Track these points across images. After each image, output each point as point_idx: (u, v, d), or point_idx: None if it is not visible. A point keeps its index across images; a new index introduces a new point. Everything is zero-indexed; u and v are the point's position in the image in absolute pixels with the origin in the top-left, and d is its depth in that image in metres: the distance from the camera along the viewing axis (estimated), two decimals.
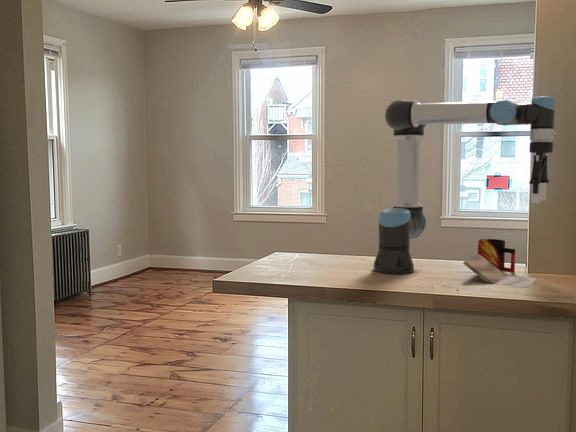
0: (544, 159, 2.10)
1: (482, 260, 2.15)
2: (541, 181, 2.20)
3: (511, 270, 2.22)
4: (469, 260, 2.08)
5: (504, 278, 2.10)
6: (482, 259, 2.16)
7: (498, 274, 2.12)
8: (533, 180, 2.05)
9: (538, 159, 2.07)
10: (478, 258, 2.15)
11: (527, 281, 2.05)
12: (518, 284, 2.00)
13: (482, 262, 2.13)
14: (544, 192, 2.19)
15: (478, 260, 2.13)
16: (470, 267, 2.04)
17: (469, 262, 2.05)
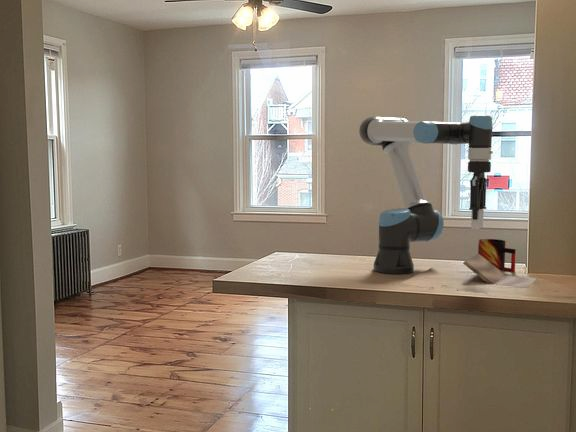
0: (482, 180, 2.06)
1: (482, 260, 2.15)
2: (478, 207, 2.12)
3: (511, 270, 2.22)
4: (469, 260, 2.08)
5: (504, 278, 2.10)
6: (482, 259, 2.16)
7: (498, 274, 2.12)
8: (472, 207, 2.05)
9: (475, 184, 2.04)
10: (478, 258, 2.15)
11: (527, 281, 2.05)
12: (518, 284, 2.00)
13: (482, 262, 2.13)
14: (481, 219, 2.12)
15: (478, 260, 2.13)
16: (470, 267, 2.04)
17: (469, 262, 2.05)
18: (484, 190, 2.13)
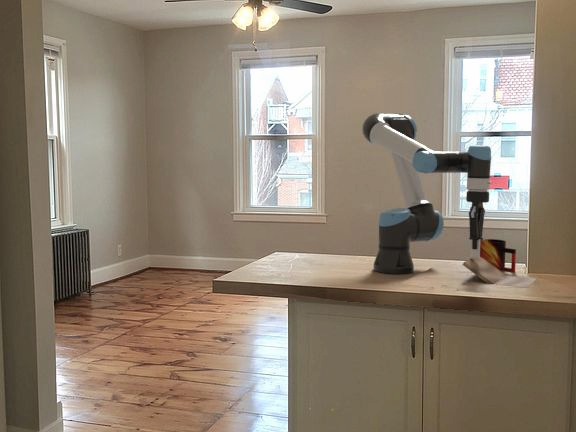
0: (480, 210, 2.08)
1: (481, 261, 2.16)
2: None
3: (512, 270, 2.22)
4: (468, 261, 2.08)
5: (504, 278, 2.10)
6: (481, 260, 2.17)
7: (498, 274, 2.12)
8: (472, 237, 2.08)
9: (474, 216, 2.05)
10: (477, 259, 2.15)
11: (527, 281, 2.05)
12: (518, 284, 2.00)
13: (481, 263, 2.13)
14: None
15: (477, 261, 2.13)
16: (469, 268, 2.04)
17: (468, 263, 2.06)
18: (482, 220, 2.13)
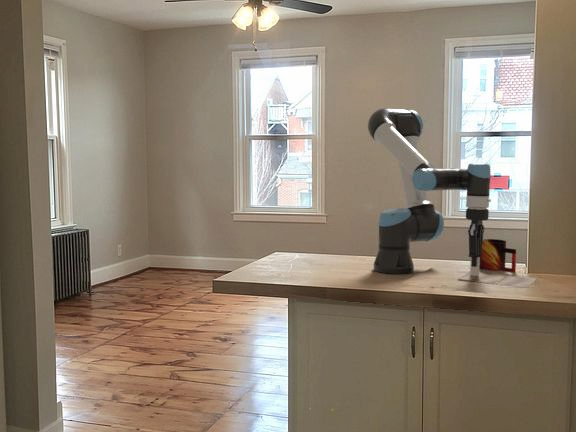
0: (479, 228, 2.08)
1: None
2: None
3: (512, 270, 2.22)
4: (463, 277, 2.09)
5: (504, 278, 2.10)
6: None
7: (497, 276, 2.12)
8: (471, 255, 2.09)
9: (473, 234, 2.06)
10: None
11: (527, 281, 2.05)
12: (518, 284, 2.00)
13: None
14: None
15: None
16: None
17: (462, 278, 2.07)
18: (481, 237, 2.14)
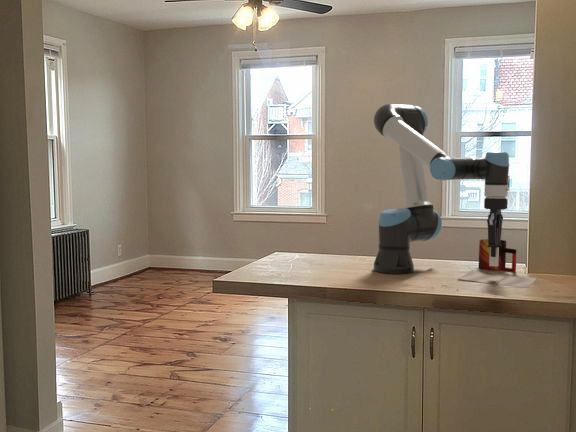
0: (498, 217, 2.05)
1: (477, 273, 2.17)
2: None
3: (512, 270, 2.22)
4: (463, 277, 2.09)
5: (504, 278, 2.10)
6: (477, 272, 2.18)
7: (497, 276, 2.12)
8: (490, 245, 2.05)
9: (492, 224, 2.02)
10: (472, 273, 2.17)
11: (527, 281, 2.05)
12: (518, 284, 2.00)
13: (477, 274, 2.14)
14: None
15: (473, 274, 2.14)
16: None
17: (462, 278, 2.07)
18: (500, 227, 2.10)
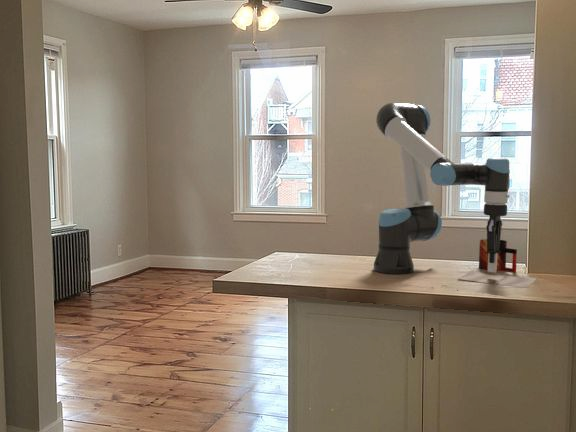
0: (498, 224, 2.05)
1: (477, 273, 2.17)
2: None
3: (513, 270, 2.21)
4: (463, 277, 2.09)
5: (504, 278, 2.10)
6: (477, 272, 2.18)
7: (497, 276, 2.12)
8: (489, 251, 2.06)
9: (491, 230, 2.03)
10: (472, 273, 2.17)
11: (527, 281, 2.05)
12: (518, 284, 2.00)
13: (477, 274, 2.14)
14: None
15: (473, 274, 2.14)
16: None
17: (462, 278, 2.07)
18: (499, 233, 2.10)
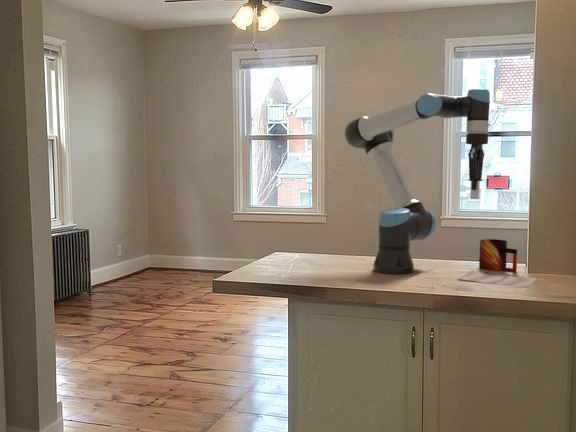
0: (479, 152, 2.15)
1: (477, 273, 2.17)
2: None
3: (513, 270, 2.21)
4: (463, 277, 2.09)
5: (504, 278, 2.10)
6: (477, 272, 2.18)
7: (497, 276, 2.12)
8: (471, 178, 2.15)
9: (473, 157, 2.12)
10: (472, 273, 2.17)
11: (527, 281, 2.05)
12: (518, 284, 2.00)
13: (477, 274, 2.14)
14: None
15: (473, 274, 2.14)
16: None
17: (462, 278, 2.07)
18: (481, 162, 2.20)
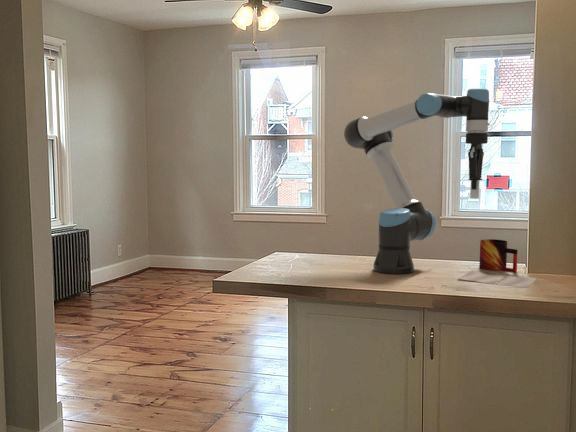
0: (479, 151, 2.15)
1: (477, 273, 2.17)
2: None
3: (513, 270, 2.21)
4: (463, 277, 2.09)
5: (504, 278, 2.10)
6: (477, 272, 2.18)
7: (497, 276, 2.12)
8: (471, 177, 2.16)
9: (473, 156, 2.13)
10: (472, 273, 2.17)
11: (527, 281, 2.05)
12: (518, 284, 2.00)
13: (477, 274, 2.14)
14: None
15: (473, 274, 2.14)
16: None
17: (462, 278, 2.07)
18: (481, 162, 2.20)
